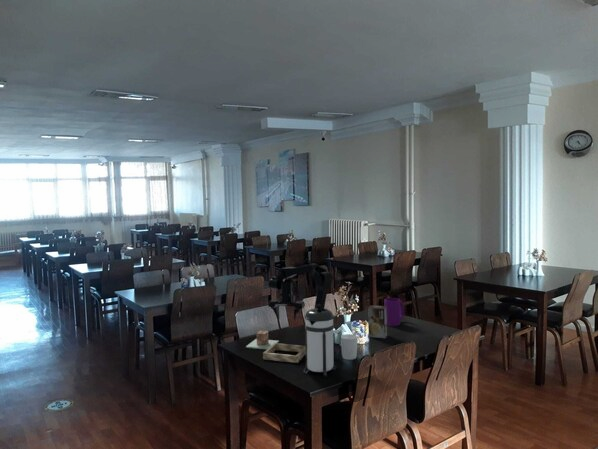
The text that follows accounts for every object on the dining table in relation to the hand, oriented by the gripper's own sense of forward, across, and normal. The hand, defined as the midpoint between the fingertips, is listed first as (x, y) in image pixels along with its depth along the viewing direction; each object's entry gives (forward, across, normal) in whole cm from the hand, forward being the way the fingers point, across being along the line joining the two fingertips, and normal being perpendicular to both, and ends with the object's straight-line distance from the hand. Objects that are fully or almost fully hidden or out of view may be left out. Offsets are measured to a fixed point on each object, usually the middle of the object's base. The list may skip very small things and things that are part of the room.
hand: (286, 320), depth 251 cm
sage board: (+11, +10, +10) cm, 18 cm away
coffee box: (+11, -45, -20) cm, 51 cm away
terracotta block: (+10, +10, +10) cm, 18 cm away
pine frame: (+11, -7, +22) cm, 26 cm away
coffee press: (+11, -28, +35) cm, 46 cm away
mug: (+11, -51, -47) cm, 71 cm away
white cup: (+11, -37, +16) cm, 42 cm away
